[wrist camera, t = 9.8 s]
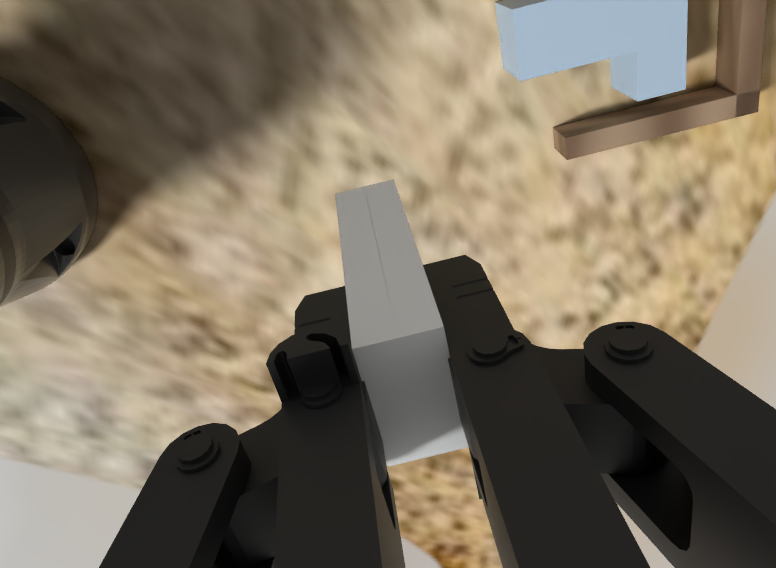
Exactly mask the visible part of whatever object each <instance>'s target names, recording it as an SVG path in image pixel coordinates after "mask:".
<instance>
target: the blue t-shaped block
mask: <svg viewBox="0 0 776 568" xmlns="http://www.w3.org/2000/svg"><path fill="white" fill-rule="evenodd" d="M495 7H496V15H497V23H498V31H499V39H500V47H501V55H502V62H503V68H504V69H505V70H506V71H508V72H509V73H510V74H512V75H513V76H514V77H515V78H517V79H518V80H519V81H523V80H527V79H531V78H535V77H539V76H543V75H546V74H550V73H554V72H558V71H562V70H566V69H570V68H574V67H578V66H582V65H585V64H589V63H593V62H597V61H601V60H605V59H609V58H610V68H611V87H612V88H614V89H616V90H617V91H619V92H621V93H623V94H625V95H626V96H628V97H630V98H632V99H634V100H636V101H637V102H638V101H642V100H646V99H650V98H654V97H657V96H661V95H665V94H669V93H673V92H677V91H681V90H685V89H686V57H687V10H688V0H502V1H498V2H495Z"/></svg>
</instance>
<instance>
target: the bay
mask: <svg viewBox="0 0 776 568" xmlns="http://www.w3.org/2000/svg"><path fill="white" fill-rule="evenodd" d="M766 8H767V0H719V16H718V38H717V60H716V83H715V87H711V88H707V89H703V90H699V91H695V92H691V93H687V94H683V95H679V96H675V97H671V98H667V99H663V100H659V101H655V102H652V103H648V104H644V105H640V106H636V107H632V108H628V109H624V110H620V111H616V112H612V113H608V114H604V115H600V116H596V117H592V118H588V119H585V120H581V121H577V122H573V123H569V124H565V125H561V126H557V127H553V134H554V145H555V149H556V150H557V151H558V152H559V153H560V154H561V155H562V156H564V157H565V158H566V159H567V160H569V159H573V158H577V157H581V156H585V155H589V154H593V153H597V152H600V151H604V150H608V149H612V148H616V147H620V146H624V145H628V144H632V143H636V142H640V141H644V140H648V139H652V138H656V137H660V136H664V135H668V134H672V133H676V132H680V131H684V130H688V129H692V128H696V127H700V126H704V125H708V124H712V123H716V122H720V121H724V120H728V119H732V118H736V117H740V116H744V115H747V114H751V113H755V112H758V106H759V94H760V82H761V69H762V57H763V45H764V33H765V21H766Z"/></svg>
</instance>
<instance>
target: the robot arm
mask: <svg viewBox="0 0 776 568" xmlns="http://www.w3.org/2000/svg"><path fill="white" fill-rule="evenodd" d="M335 196H336V205H337V215H338V224H339V233H340V243H341V252H342V261H343V271H344V280H345V286H343V287H339V288H335V289H331V290H327V291H323V292H319V293H315V294H311V295H306V296H305V297H304V298H303V300H302V301H301V303H300V304H299V306H298V308H297V309H296V311H295V335H292V336H290V337H289V338H287V339H286V340H284V341H283V342H281V343H279V344H278V345H277V347H276V348H275V349H274V350H273V351H272V352H271V353H270V355H269V358H268V360H267V363H266V365H267V367H268V370H269V372H270V375H271V377H272V380H273V382H274V385H275V387H276V389H277V392H278V394H279V397H280V399H281V402H282V409H281V410H280V411H279V412H278V413H276V414H275V415H274V416H273V417H272V418H270V419H269V420H267V421H265V422H264V423H262V424H260V425H258V426H256V427H254V428H252V429H250V430H248V431H246V432H244V433H242V434H240V435H238V434H237V431H236V430H235V429H233V428H232V427H230V426H229V425H227V424H219V423H211V424H206V425H202V426H198V427H196V428H194V429H191V430H189V431H187V432H185V433H183V434H182V435H180V436H179V437H178V438H177V439H175V440H174V441H173V442H172V443H170V444H169V445H168V447H167V448H166V449H165V451H164V452H163V453H162V455H161V456H160V457H159V459H158V461H157V463H156V465H155V467H154V468H153V470H152V472H151V474H150V476H149V477H148V479H147V481H146V483H145V485H144V487H143V488H142V490H141V492H140V494H139V496H138V497H137V499H136V501H135V503H134V505H133V507H132V508H131V510H130V512H129V514H128V516H127V518H126V519H125V521H124V523H123V525H122V527H121V528H120V530H119V532H118V534H117V536H116V538H115V539H114V541H113V543H112V545H111V547H110V548H109V550H108V552H107V554H106V556H105V558H104V559H103V561H102V563H101V565H100V567H99V568H405V562H404V556H403V550H402V543H401V537H400V530H399V524H398V518H397V511H396V505H395V498H394V492H393V488H392V485H391V481H390V478H389V475H388V472H387V466H386V462H387V465H388V466H392V465H396V464H401V463H405V462H409V461H413V460H417V459H421V458H425V457H429V456H434V455H438V454H442V453H446V452H450V451H454V450H458V449H463V448H467V447H468V446H469V450H470V455H471V460H472V465H473V469H474V474H475V479H476V484H477V489H478V494H479V499H483V503H484V506H485V509H486V513H487V516H488V519H489V523H490V526H491V529H492V532H493V536H494V539H495V542H496V546H497V549H498V552H499V556H500V559H501V562H502V566H503V568H650V566H649V564H648V563H647V561H646V559H645V557H644V555H643V553H642V551H641V549H640V547H639V546H638V544H637V542H636V540H635V538H634V536H633V534H632V533H631V530H630V529H629V527H628V525H627V523H626V521H625V519H624V517H623V515H622V514H621V512H620V510H619V508H618V506H617V504H618V505H619V506H620V507H621V508H622V509H623V510H624V511H625V512H626V513H627V515H628V516H629V517H630V518H631V519H632V520H633V521H634V522H635V524H636V525H637V526H638V527H639V528H640V529H641V530H642V532H643V533H644V534H645V535H646V536H647V537H648V538H649V539H650V540H651V542H652V543H653V544H654V545H655V546H656V547H657V548H658V549H659V551H660V552H661V553H662V554H663V555H664V556H665V557H666V558H667V560H668V561H669V562H670V563H671V564H672V565H673V566H674V567H675V568H776V409H775V408H773V407H771V406H770V405H769V404H767V403H766V402H764V401H763V400H762V399H760V398H759V397H757V396H756V395H754V394H753V393H752V392H750V391H749V390H747V389H746V388H744V387H743V386H741V385H740V384H739V383H737V382H736V381H734V380H733V379H731V378H730V377H728V376H727V375H726V374H724V373H723V372H721V371H720V370H718V369H717V368H715V367H714V366H713V365H711V364H710V363H708V362H707V361H705V360H704V359H702V358H701V357H700V356H698V355H697V354H695V353H694V352H692V351H691V350H690V349H688V348H687V347H685V346H684V345H682V344H681V343H680V342H678V341H677V340H675V339H674V338H672V337H671V336H669V335H668V334H667V333H665V332H663V331H661V330H659V329H657V328H655V327H653V326H651V325H647V324H642V323H637V322H616V323H612V324H608V325H604V326H601V327H599V328H598V329H596V330H595V331H593V332H591V333H590V334H589V335H588V337H587V338H586V340H585V342H584V343H583V344H584V349H548V348H543V347H538V346H535V345H533V344H531V342H530V341H529V340H528V339H527V338H526V337H525V336H524V335H523V333H520V332H518V331H516V330H514V328H513V327H512V325H511V323H510V321H509V319H508V317H507V315H506V313H505V311H504V309H503V307H502V305H501V303H500V301H499V299H498V297H497V295H496V293H495V291H493V288H492V286H491V284H490V282H489V280H488V279H487V276H486V274H485V272H484V270H483V268H482V266H481V264H480V263H478V262H476V261H475V260H473V259H471V258H469V257H468V256H466V255H463V256H458V257H454V258H450V259H446V260H442V261H438V262H434V263H430V264H426V265H423V264H422V261H421V258H420V256H419V253H418V250H417V247H416V244H415V241H414V238H413V235H412V232H411V229H410V226H409V223H408V220H407V217H406V215H405V212H404V209H403V206H402V203H401V200H400V197H399V194H398V191H397V188H396V185H395V182H394V179H393V180H389V181H385V182H381V183H377V184H373V185H369V186H365V187H361V188H357V189H353V190H349V191H345V192H341V193H337V194H335ZM97 206H98V202H97V191H96V185H95V180H94V177H93V174H92V171H91V168H90V165H89V163H88V161H87V159H86V156H85V154H84V153H83V151H82V149H81V147H80V146H79V144H78V143H77V141H76V139H75V138H74V137H73V135H72V134H71V133H70V131H69V130H68V129H67V128H66V126H65V125H64V124H63V123H62V122H61V121H60V120H59V119H58V118H57V117H56V116H55V115H54V114H53V113H52V112H51V111H50V110H49V109H48V108H47V107H45V106H44V105H43V104H42V103H41V102H39V101H38V100H37V99H35V98H34V97H33V96H31V95H30V94H28V93H27V92H25V91H24V90H22V89H20V88H19V87H17V86H15V85H13V84H11V83H9V82H7V81H5V80H3V79H1V78H0V307H1V306H4V305H6V304H8V303H10V302H13V301H15V300H17V299H20V298H22V297H24V296H27V295H29V294H31V293H34V292H36V291H38V290H40V289H42V288H44V287H46V286H48V285H49V284H51V283H52V282H54V281H55V280H57V279H58V278H59V277H60V276H61V275H63V274H64V273H65V272H66V271H67V270H68V269H69V268H70V267H71V265H72V264H73V263H74V262H75V260H76V259H77V258H78V256H79V255H80V254H81V252H82V251H83V249H84V248H85V247H86V245H87V243H88V241H89V240H90V237H91V235H92V233H93V230H94V227H95V223H96V218H97ZM385 458H386V459H385ZM615 501H616V502H617V504H616V502H615Z"/></svg>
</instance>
